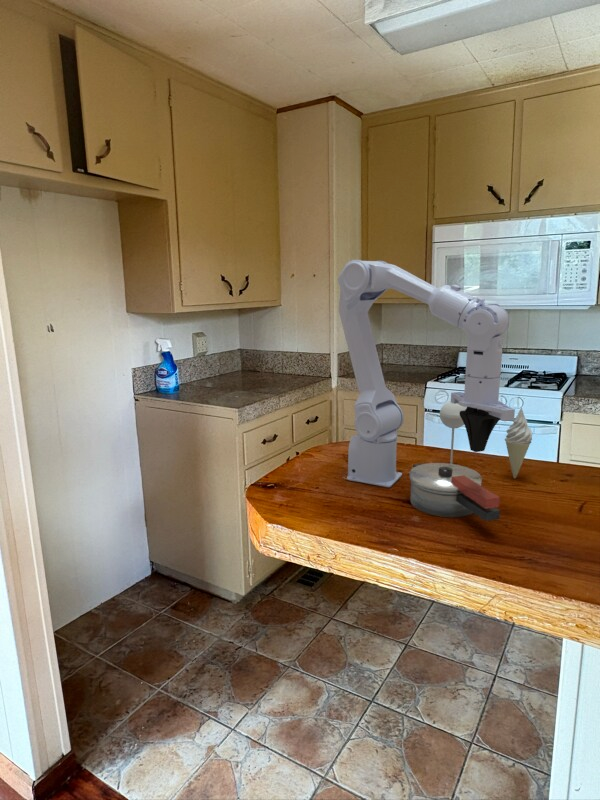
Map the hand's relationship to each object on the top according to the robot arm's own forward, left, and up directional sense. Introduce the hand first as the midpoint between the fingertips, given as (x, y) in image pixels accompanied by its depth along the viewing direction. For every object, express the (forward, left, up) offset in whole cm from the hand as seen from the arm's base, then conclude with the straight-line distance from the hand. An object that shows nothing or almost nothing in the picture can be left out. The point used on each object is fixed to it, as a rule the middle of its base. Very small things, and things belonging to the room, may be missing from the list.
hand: (477, 450), depth 94 cm
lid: (-2, -5, -6) cm, 8 cm away
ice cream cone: (+5, +17, -11) cm, 21 cm away
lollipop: (-8, +17, -11) cm, 22 cm away
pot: (-3, -3, -10) cm, 11 cm away
